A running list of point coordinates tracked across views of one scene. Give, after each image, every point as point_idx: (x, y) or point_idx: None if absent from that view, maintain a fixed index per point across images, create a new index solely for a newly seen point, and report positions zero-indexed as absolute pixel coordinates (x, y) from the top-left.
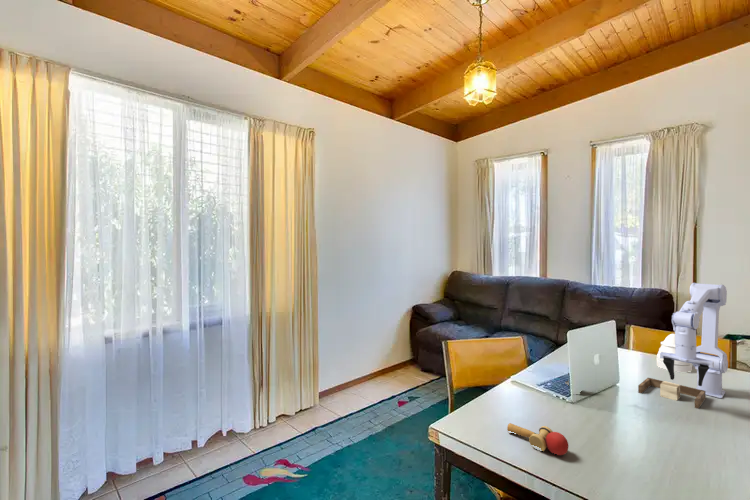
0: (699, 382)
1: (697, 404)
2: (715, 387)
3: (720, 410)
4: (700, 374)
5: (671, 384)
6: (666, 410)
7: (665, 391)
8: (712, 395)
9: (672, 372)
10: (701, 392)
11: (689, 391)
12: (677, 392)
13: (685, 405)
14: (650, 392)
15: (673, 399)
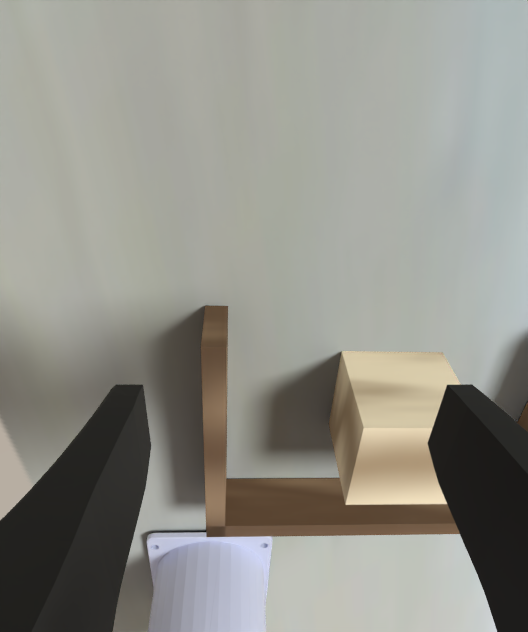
0: (113, 415)
1: (208, 323)
2: (171, 597)
3: (98, 375)
4: (33, 554)
5: (401, 473)
6: (408, 49)
7: (427, 386)
8: (187, 537)
9: (504, 489)
10: (218, 501)
11: (287, 501)
12: (350, 409)
13: (284, 304)
14: (501, 377)
15: (362, 353)
